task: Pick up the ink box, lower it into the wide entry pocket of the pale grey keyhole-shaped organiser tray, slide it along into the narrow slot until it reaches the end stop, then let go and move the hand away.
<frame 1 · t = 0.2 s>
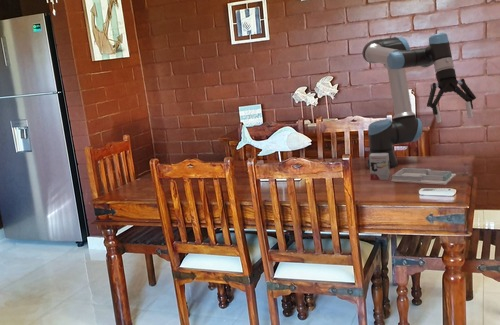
hand: (455, 120, 209), 28 cm above the table, tool tilted 20°, fingers open, 13 cm apart
ink box: (380, 179, 238), on the table
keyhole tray: (423, 178, 230), on the table
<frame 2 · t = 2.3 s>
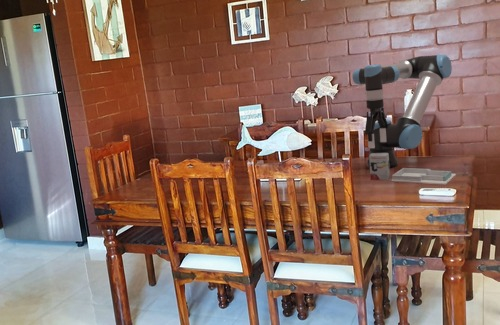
hand: (377, 145, 235), 16 cm above the table, tool pointing down, fingers open, 13 cm apart
nothing on the table moved.
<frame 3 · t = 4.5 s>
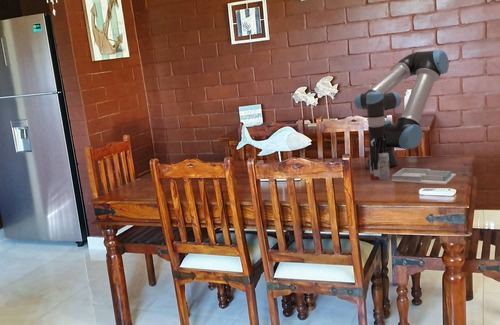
hand: (379, 174, 238), 2 cm above the table, tool pointing down, fingers closed on ink box, 6 cm apart
ink box: (380, 178, 238), on the table, touching gripper
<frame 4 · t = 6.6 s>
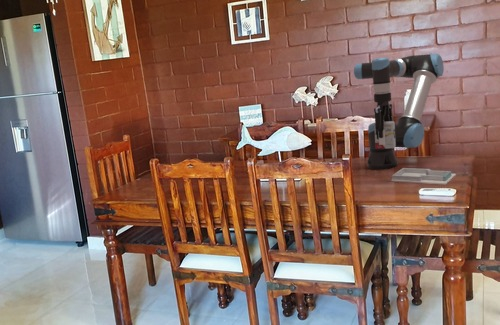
hand: (385, 143, 233), 17 cm above the table, tool pointing down, fingers closed on ink box, 6 cm apart
ink box: (385, 147, 234), point 15 cm above the table, touching gripper
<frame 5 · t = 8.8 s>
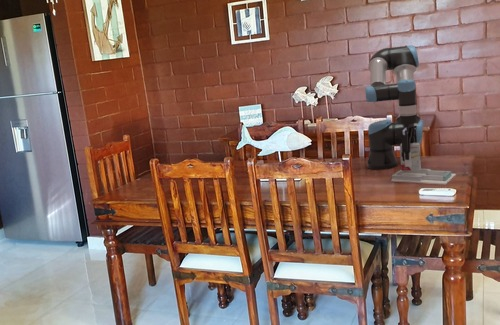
hand: (410, 164, 231), 6 cm above the table, tool pointing down, fingers closed on ink box, 6 cm apart
ink box: (411, 169, 232), point 4 cm above the table, touching gripper
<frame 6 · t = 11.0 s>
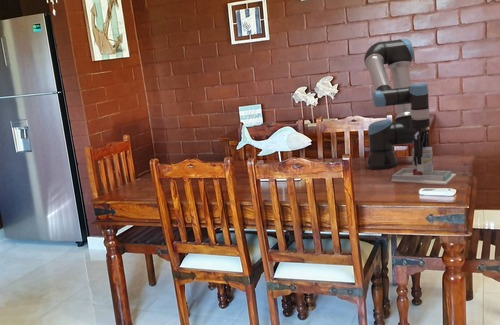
hand: (423, 169, 228), 4 cm above the table, tool pointing down, fingers closed on ink box, 6 cm apart
ink box: (423, 174, 229), point 2 cm above the table, touching gripper
when the fingers open (4 cm above the table, at t = 13.1 s): ink box drops 1 cm, resting on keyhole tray.
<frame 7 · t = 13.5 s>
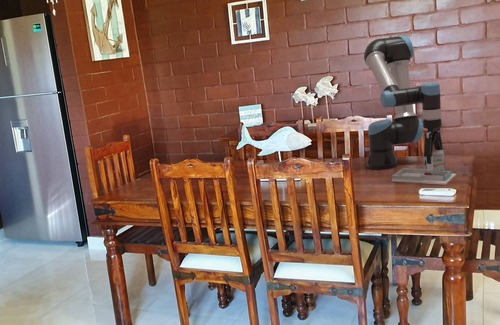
hand: (434, 167, 225), 5 cm above the table, tool pointing down, fingers open, 11 cm apart
ink box: (434, 177, 227), resting on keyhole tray
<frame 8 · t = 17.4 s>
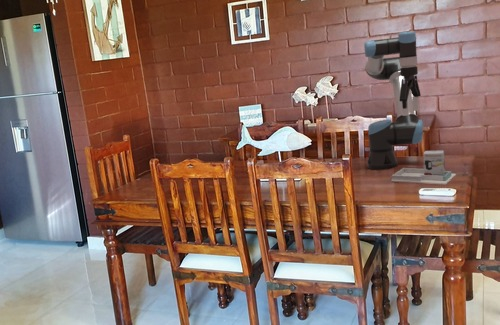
hand: (411, 113, 234), 29 cm above the table, tool pointing down, fingers open, 13 cm apart
nothing on the table moved.
at the end: ink box 0.2 cm from the target spot on the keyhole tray, point 0.4 cm above the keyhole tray's base; ink box tilted 0°; the gripper is holding nothing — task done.
